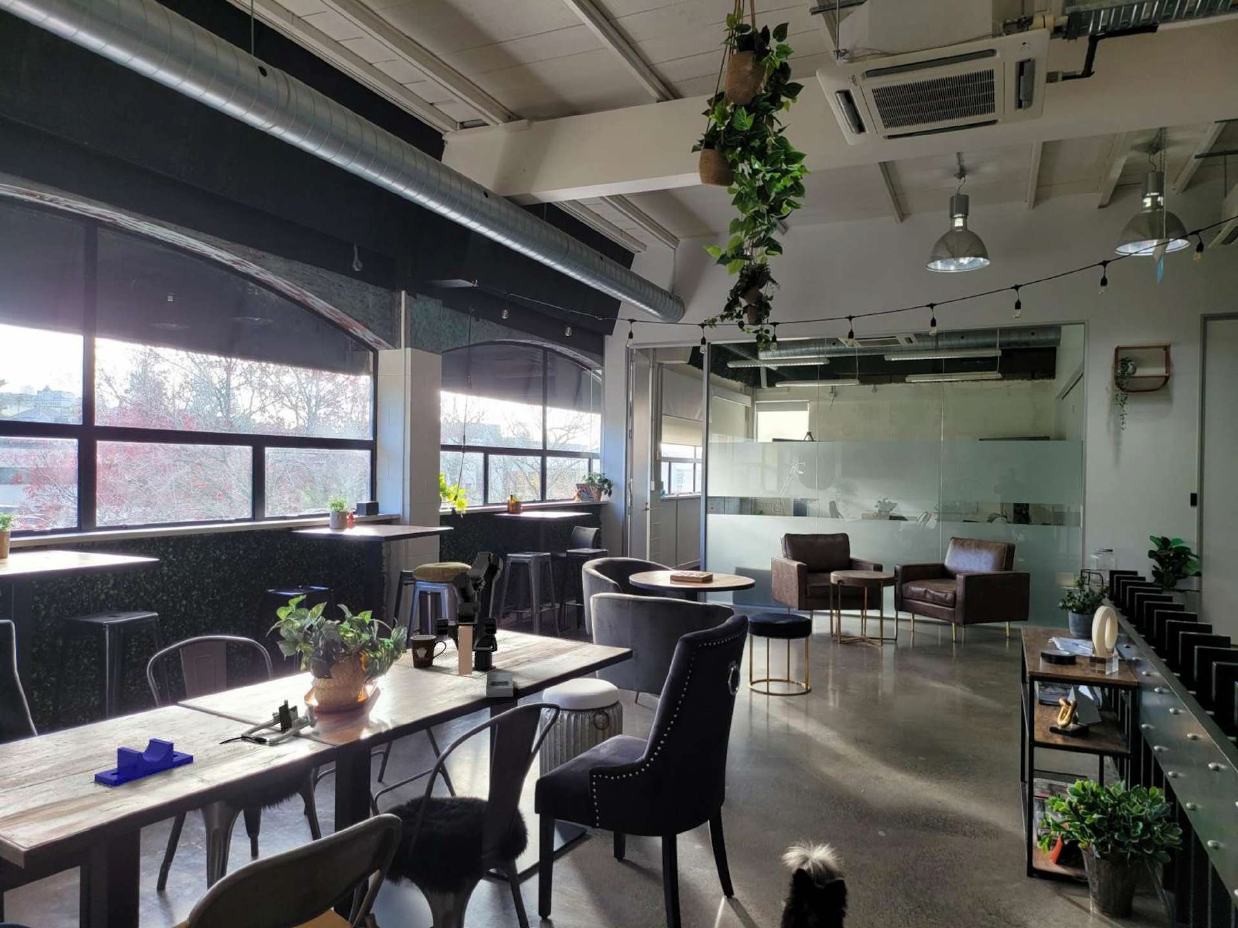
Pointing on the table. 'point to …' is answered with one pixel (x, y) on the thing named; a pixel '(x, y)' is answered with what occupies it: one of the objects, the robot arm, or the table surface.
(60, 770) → the table surface
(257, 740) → the bike brake
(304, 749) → the table surface
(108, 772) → the mounting bracket
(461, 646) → the terracotta peg
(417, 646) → the coffee mug
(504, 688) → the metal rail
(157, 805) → the table surface
